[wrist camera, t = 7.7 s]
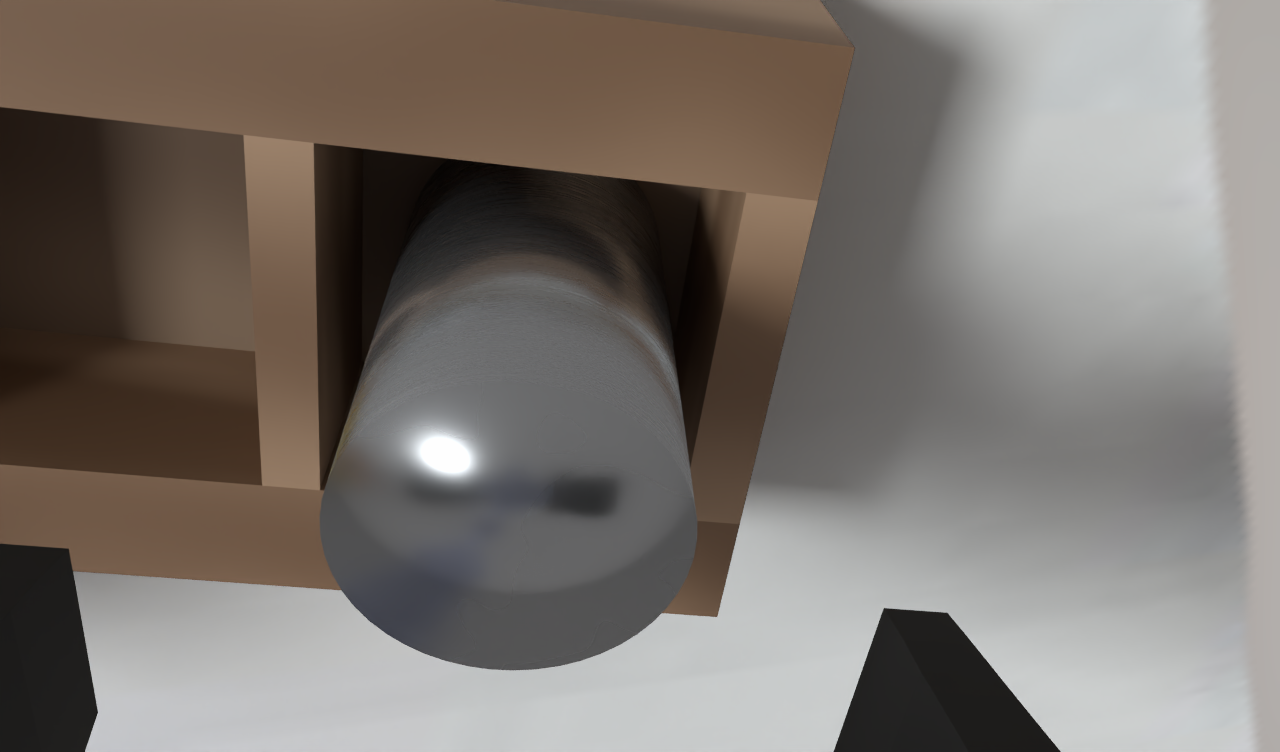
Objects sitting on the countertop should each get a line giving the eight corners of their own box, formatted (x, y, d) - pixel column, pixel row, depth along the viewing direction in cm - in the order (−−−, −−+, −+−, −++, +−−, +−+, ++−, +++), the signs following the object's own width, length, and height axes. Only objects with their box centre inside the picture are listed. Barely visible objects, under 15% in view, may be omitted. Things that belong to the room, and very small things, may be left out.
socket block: (695, 464, 21) (717, 617, 17) (-35, 400, 19) (-166, 553, 16) (797, -31, 16) (855, 47, 13) (-160, -163, 15) (-385, -115, 11)
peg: (652, 359, 19) (684, 670, 13) (416, 354, 19) (339, 669, 13) (666, 134, 17) (712, 384, 11) (400, 126, 16) (298, 378, 11)
